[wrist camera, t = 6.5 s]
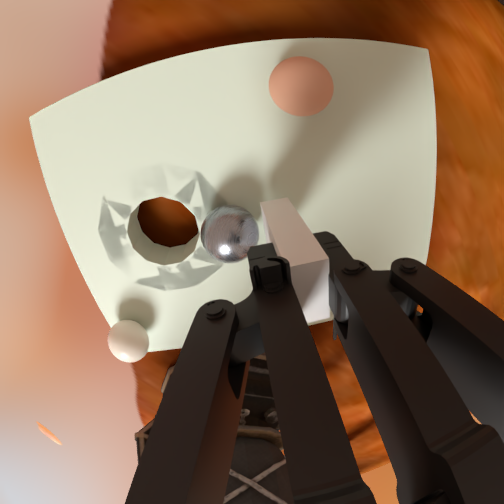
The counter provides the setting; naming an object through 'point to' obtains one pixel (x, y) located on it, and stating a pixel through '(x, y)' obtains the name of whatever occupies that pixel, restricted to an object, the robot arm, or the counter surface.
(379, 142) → the board
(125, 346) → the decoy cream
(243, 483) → the lantern
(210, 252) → the steel ball
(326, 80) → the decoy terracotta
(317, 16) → the counter surface
